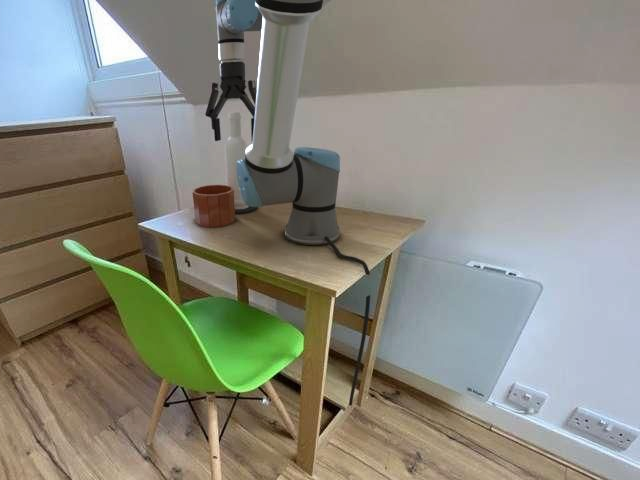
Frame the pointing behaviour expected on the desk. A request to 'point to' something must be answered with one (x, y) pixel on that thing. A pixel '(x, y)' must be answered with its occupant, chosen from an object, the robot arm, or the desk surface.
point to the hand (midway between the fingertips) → (235, 140)
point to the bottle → (235, 157)
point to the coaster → (245, 210)
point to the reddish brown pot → (214, 205)
